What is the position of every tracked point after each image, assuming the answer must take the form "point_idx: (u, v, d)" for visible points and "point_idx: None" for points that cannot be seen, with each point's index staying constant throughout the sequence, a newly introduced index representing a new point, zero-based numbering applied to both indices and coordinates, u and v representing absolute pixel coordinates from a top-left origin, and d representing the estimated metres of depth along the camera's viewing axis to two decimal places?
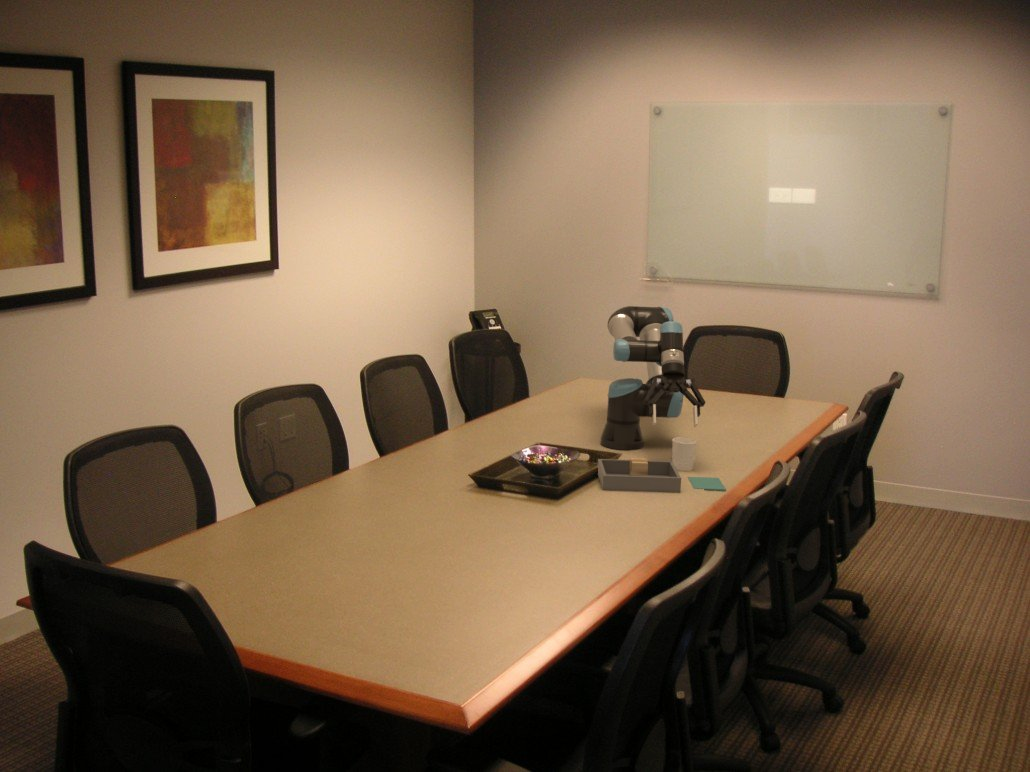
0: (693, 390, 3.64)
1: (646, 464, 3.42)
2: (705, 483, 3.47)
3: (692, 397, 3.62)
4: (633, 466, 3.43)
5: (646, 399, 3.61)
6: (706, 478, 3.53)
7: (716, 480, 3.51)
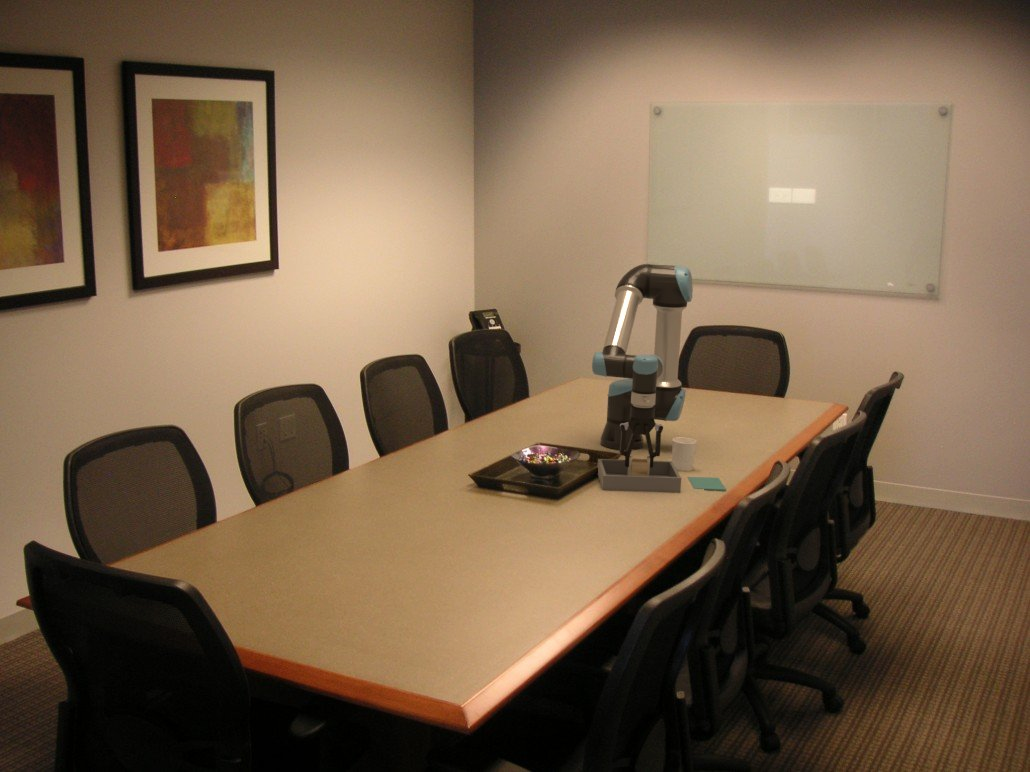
0: (656, 436, 3.43)
1: (646, 464, 3.42)
2: (705, 483, 3.47)
3: (650, 447, 3.43)
4: (633, 466, 3.43)
5: (622, 452, 3.43)
6: (706, 478, 3.53)
7: (716, 480, 3.51)
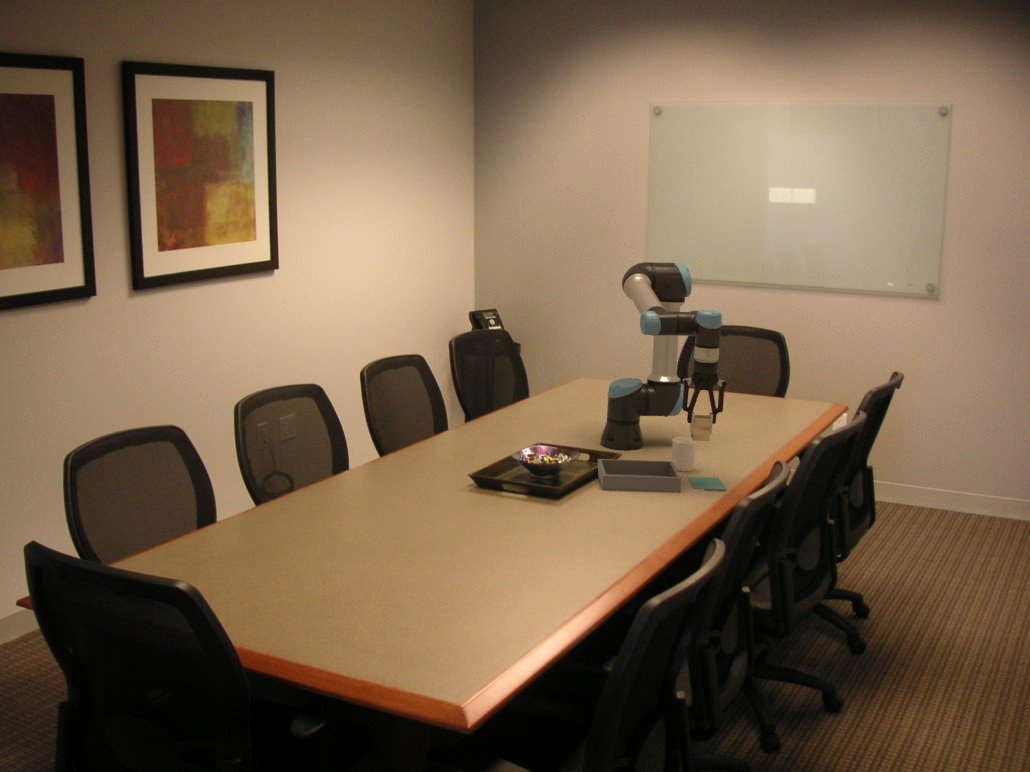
0: (719, 392, 3.41)
1: (709, 420, 3.40)
2: (705, 483, 3.47)
3: (713, 403, 3.40)
4: (696, 422, 3.40)
5: (685, 408, 3.41)
6: (706, 478, 3.53)
7: (716, 480, 3.51)
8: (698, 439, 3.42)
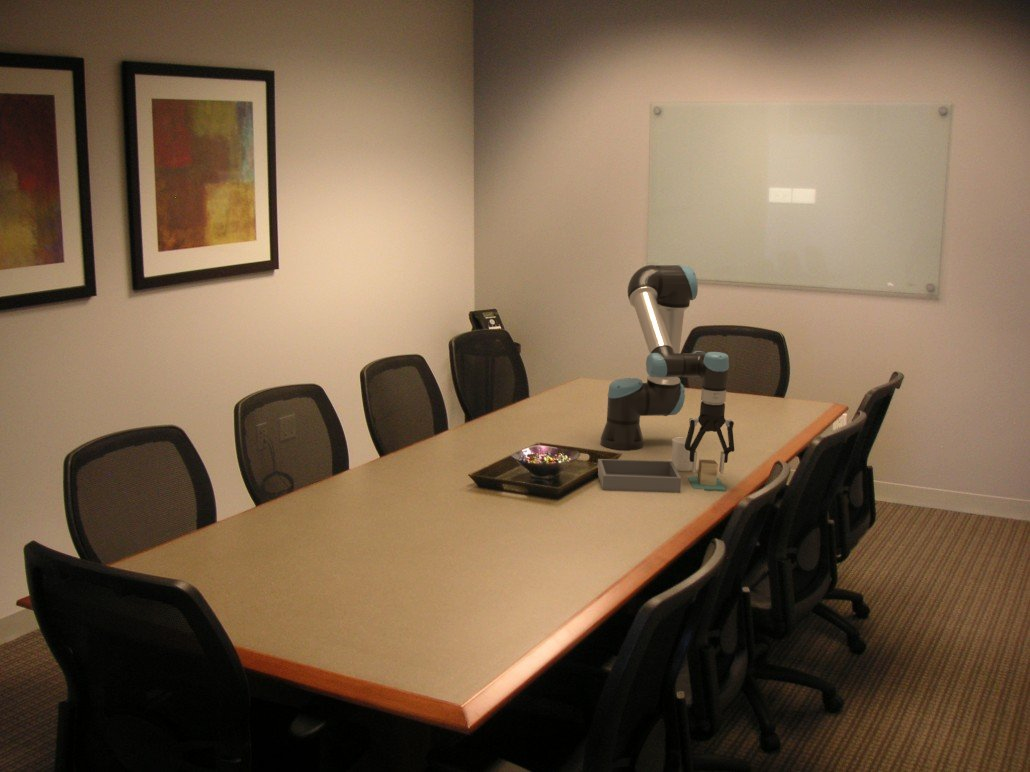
0: (728, 432, 3.44)
1: (716, 465, 3.44)
2: None
3: (723, 443, 3.44)
4: (703, 467, 3.44)
5: (687, 447, 3.44)
6: None
7: (716, 480, 3.51)
8: (705, 484, 3.45)
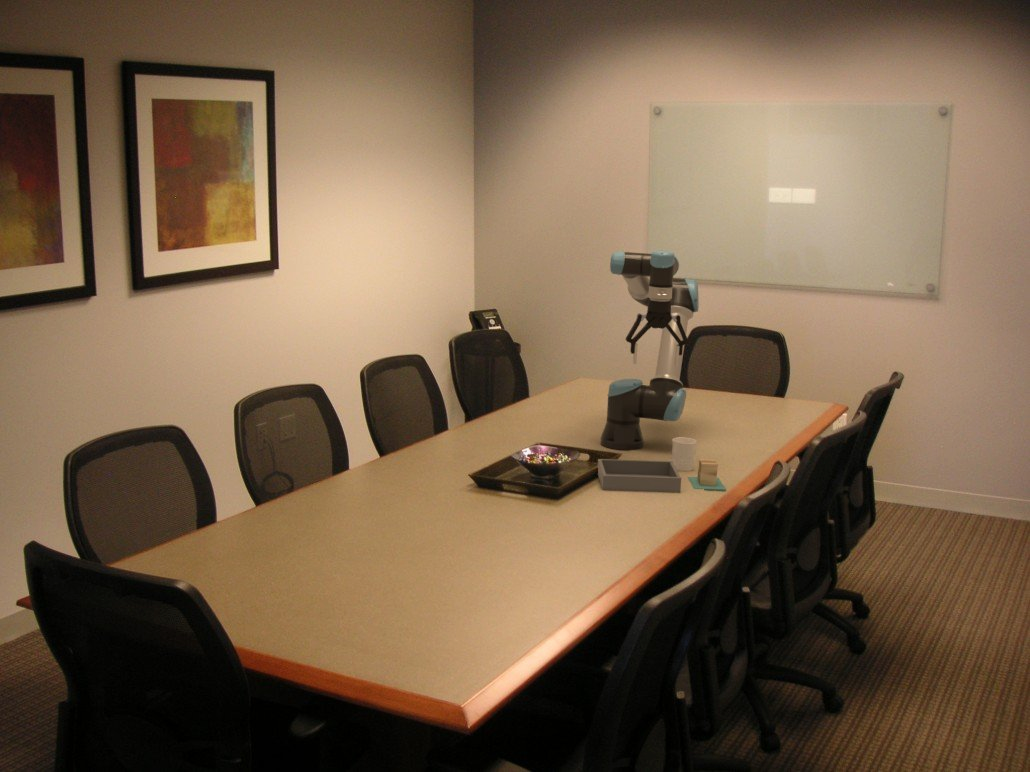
0: (678, 327, 3.55)
1: (716, 465, 3.44)
2: None
3: (676, 337, 3.54)
4: (703, 467, 3.44)
5: (628, 339, 3.54)
6: None
7: (716, 480, 3.51)
8: (705, 484, 3.45)
